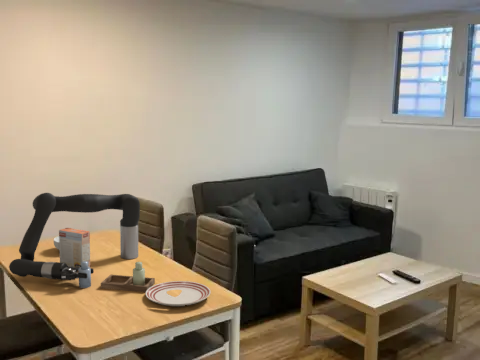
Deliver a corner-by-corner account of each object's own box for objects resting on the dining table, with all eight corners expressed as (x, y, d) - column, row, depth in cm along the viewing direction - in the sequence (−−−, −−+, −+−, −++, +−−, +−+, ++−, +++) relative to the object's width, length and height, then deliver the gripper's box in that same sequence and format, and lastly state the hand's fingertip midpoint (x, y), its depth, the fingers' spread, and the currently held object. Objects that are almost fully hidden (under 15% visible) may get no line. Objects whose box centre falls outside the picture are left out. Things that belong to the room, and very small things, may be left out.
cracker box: (91, 273, 243) (90, 230, 239) (82, 277, 237) (81, 233, 234) (68, 268, 248) (67, 226, 245) (59, 272, 243) (58, 229, 240)
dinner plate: (139, 290, 223) (139, 283, 223) (198, 283, 234) (198, 276, 233) (154, 316, 198) (154, 308, 198) (219, 306, 209) (220, 298, 209)
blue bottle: (82, 283, 229) (81, 260, 228) (93, 284, 229) (92, 260, 227) (76, 287, 224) (76, 263, 222) (87, 288, 223) (87, 264, 222)
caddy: (110, 280, 233) (110, 274, 233) (154, 284, 230) (154, 278, 230) (100, 289, 223) (100, 283, 222) (146, 293, 220) (146, 287, 219)
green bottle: (135, 284, 229) (135, 260, 227) (146, 285, 228) (146, 261, 226) (131, 288, 224) (131, 264, 222) (142, 289, 223) (142, 265, 221)
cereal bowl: (63, 244, 286) (62, 232, 285) (91, 246, 284) (91, 234, 283) (47, 254, 270) (47, 241, 268) (77, 256, 267) (77, 243, 266)
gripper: (45, 267, 220) (82, 270, 217) (62, 257, 234) (96, 260, 231) (46, 284, 221) (83, 287, 219) (62, 273, 235) (97, 276, 233)
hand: (90, 273), depth 225 cm, fingers open, 5 cm apart
